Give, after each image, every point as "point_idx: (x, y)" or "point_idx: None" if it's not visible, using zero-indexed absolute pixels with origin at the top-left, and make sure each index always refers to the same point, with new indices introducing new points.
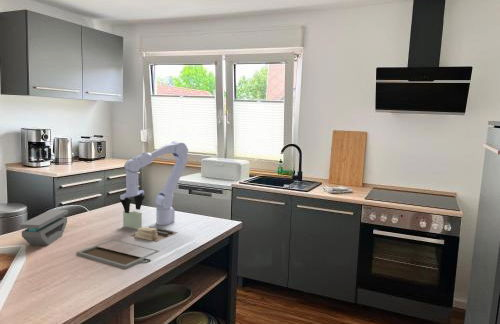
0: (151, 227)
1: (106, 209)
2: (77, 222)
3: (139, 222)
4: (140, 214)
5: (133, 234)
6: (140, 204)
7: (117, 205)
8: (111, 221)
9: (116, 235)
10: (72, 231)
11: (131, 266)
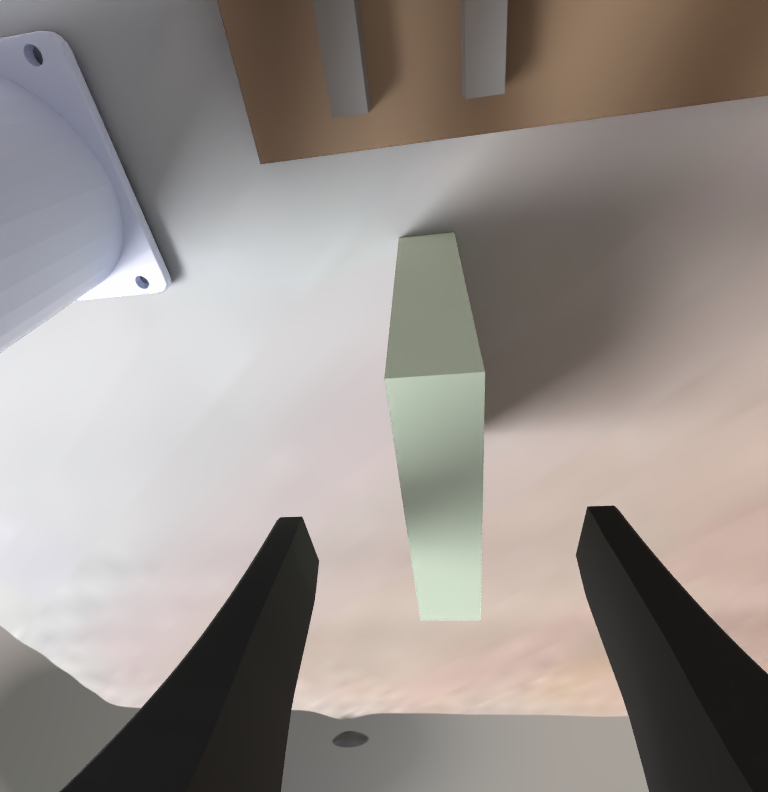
0: (349, 36)
1: None
2: (526, 667)
3: (445, 282)
4: (423, 355)
5: (719, 90)
6: (247, 612)
7: None
8: (384, 585)
9: (717, 319)
10: (713, 603)
11: None
